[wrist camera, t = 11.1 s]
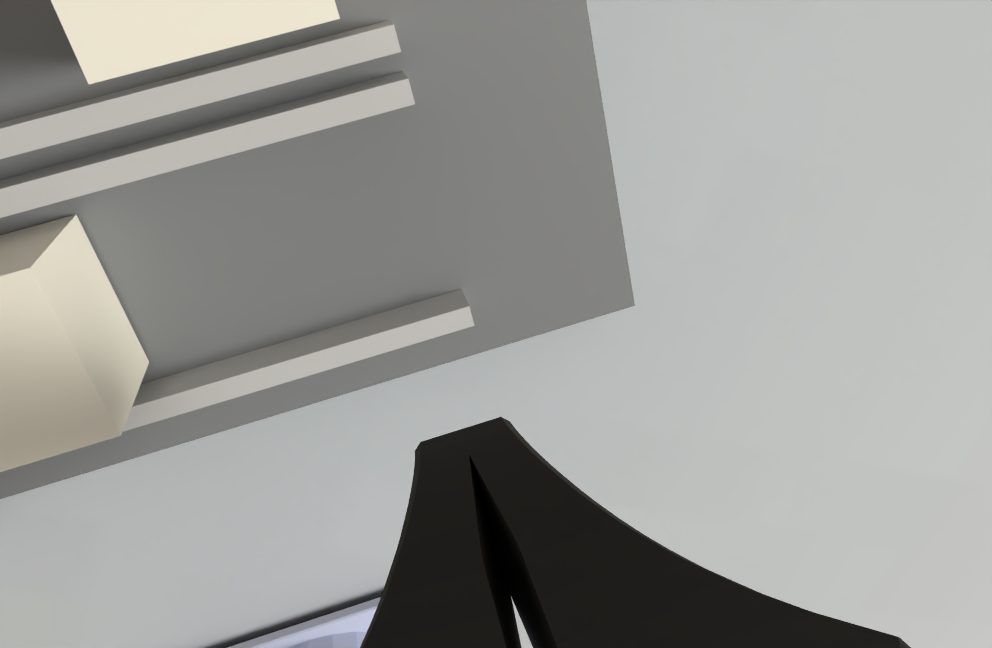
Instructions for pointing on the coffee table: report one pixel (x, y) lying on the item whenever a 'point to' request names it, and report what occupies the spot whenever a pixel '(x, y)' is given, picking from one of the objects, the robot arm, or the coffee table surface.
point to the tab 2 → (174, 29)
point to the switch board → (319, 201)
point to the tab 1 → (61, 346)
